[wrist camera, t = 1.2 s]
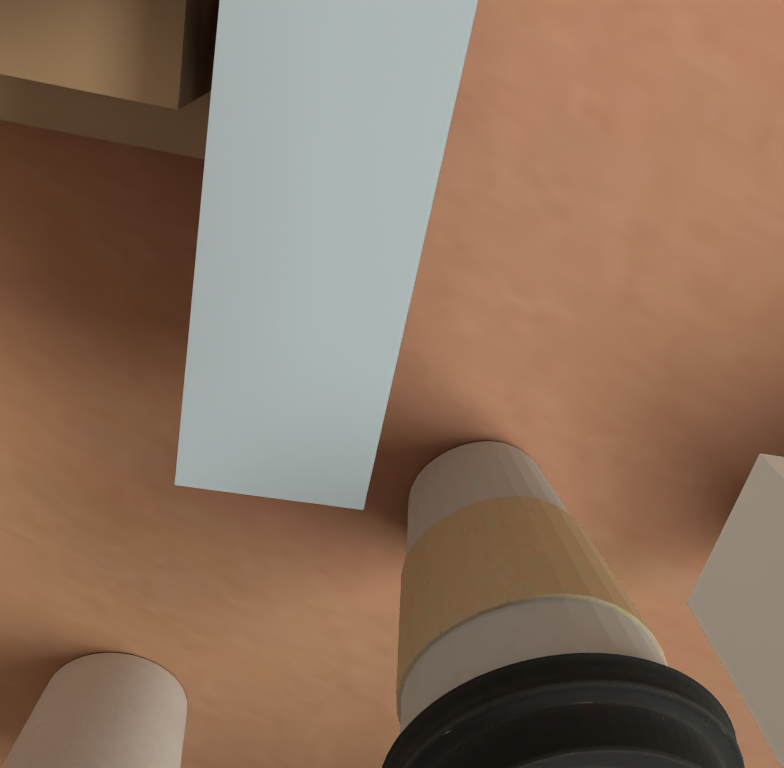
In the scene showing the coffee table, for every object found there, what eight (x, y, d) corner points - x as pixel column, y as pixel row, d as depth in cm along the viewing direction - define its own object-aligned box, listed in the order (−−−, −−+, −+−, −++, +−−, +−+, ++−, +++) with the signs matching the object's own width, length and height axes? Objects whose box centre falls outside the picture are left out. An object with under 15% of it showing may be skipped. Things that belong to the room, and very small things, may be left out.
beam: (359, 420, 25) (363, 510, 20) (206, 397, 24) (174, 484, 20) (553, -504, 15) (639, -717, 11) (312, -585, 15) (298, -848, 10)
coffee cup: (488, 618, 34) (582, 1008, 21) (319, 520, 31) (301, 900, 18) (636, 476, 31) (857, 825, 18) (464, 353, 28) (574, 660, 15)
